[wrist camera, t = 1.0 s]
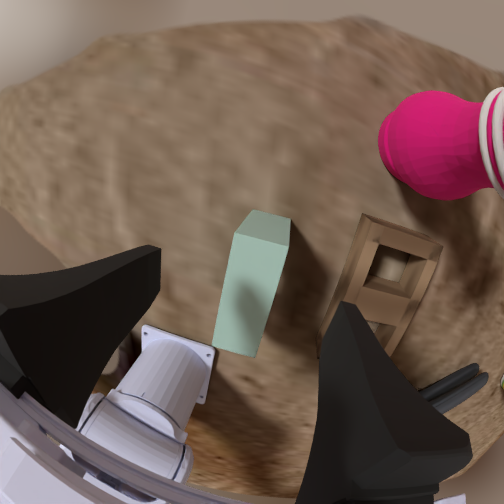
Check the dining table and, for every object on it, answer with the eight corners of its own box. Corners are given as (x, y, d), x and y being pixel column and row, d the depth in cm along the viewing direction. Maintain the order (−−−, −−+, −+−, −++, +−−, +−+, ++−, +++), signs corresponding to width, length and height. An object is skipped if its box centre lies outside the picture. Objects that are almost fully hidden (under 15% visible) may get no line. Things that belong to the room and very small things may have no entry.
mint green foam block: (265, 306, 24) (255, 357, 18) (232, 297, 24) (211, 345, 18) (290, 218, 21) (289, 246, 15) (253, 209, 22) (234, 232, 15)
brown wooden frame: (375, 350, 24) (382, 369, 21) (315, 338, 25) (317, 358, 22) (427, 235, 20) (443, 246, 17) (362, 213, 20) (372, 222, 18)
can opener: (350, 422, 29) (354, 457, 23) (346, 388, 27) (352, 427, 21) (473, 381, 25) (488, 410, 19) (483, 343, 23) (504, 371, 17)
